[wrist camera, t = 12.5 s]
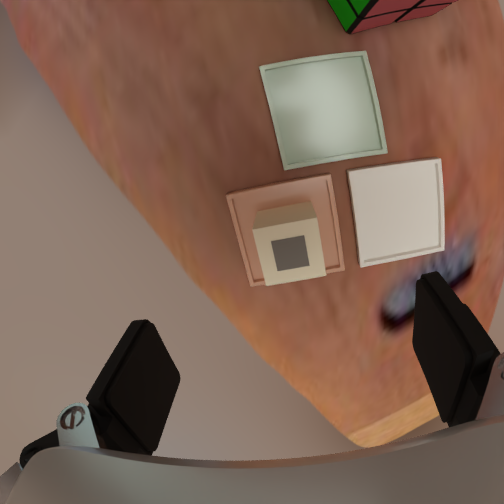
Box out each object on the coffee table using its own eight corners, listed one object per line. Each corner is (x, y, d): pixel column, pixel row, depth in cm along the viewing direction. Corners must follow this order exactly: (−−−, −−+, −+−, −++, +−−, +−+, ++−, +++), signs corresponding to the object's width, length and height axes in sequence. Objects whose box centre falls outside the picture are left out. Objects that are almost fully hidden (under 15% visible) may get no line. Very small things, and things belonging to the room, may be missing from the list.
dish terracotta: (227, 192, 28) (225, 195, 27) (329, 172, 27) (330, 174, 26) (251, 281, 32) (250, 286, 31) (343, 265, 30) (344, 270, 29)
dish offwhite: (346, 169, 26) (348, 171, 26) (436, 157, 25) (440, 158, 24) (358, 262, 30) (360, 267, 29) (440, 246, 28) (444, 250, 27)
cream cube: (257, 211, 28) (252, 230, 24) (311, 200, 28) (317, 217, 23) (268, 261, 30) (266, 287, 26) (319, 251, 29) (326, 277, 25)
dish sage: (259, 68, 24) (258, 66, 23) (363, 53, 22) (365, 50, 21) (284, 168, 27) (284, 170, 26) (384, 152, 25) (387, 153, 24)
